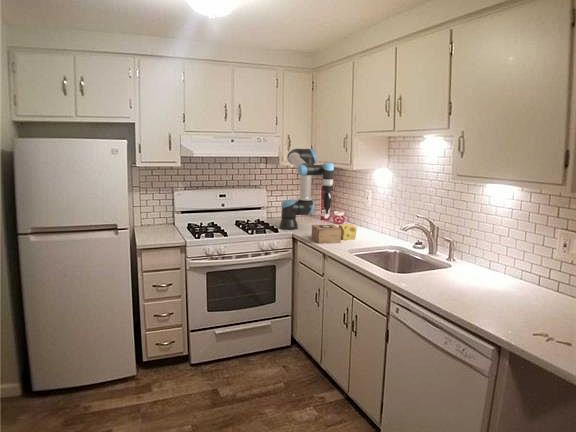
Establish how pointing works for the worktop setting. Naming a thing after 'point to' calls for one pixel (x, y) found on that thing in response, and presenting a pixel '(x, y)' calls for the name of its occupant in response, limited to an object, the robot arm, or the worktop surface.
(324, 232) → the socket block
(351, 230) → the cheese
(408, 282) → the worktop surface
